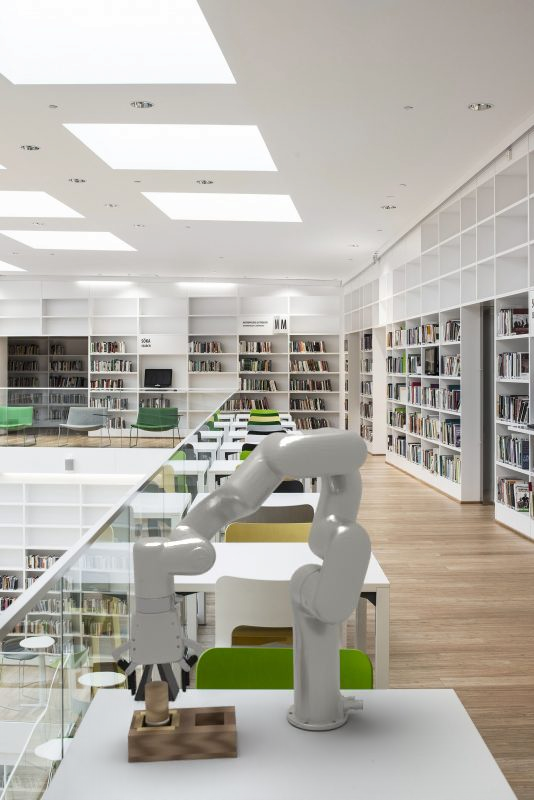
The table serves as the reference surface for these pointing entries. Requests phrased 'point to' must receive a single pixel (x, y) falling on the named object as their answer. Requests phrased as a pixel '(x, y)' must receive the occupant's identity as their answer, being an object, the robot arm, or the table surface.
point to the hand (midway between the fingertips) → (159, 691)
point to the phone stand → (165, 675)
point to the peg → (157, 704)
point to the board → (184, 735)
